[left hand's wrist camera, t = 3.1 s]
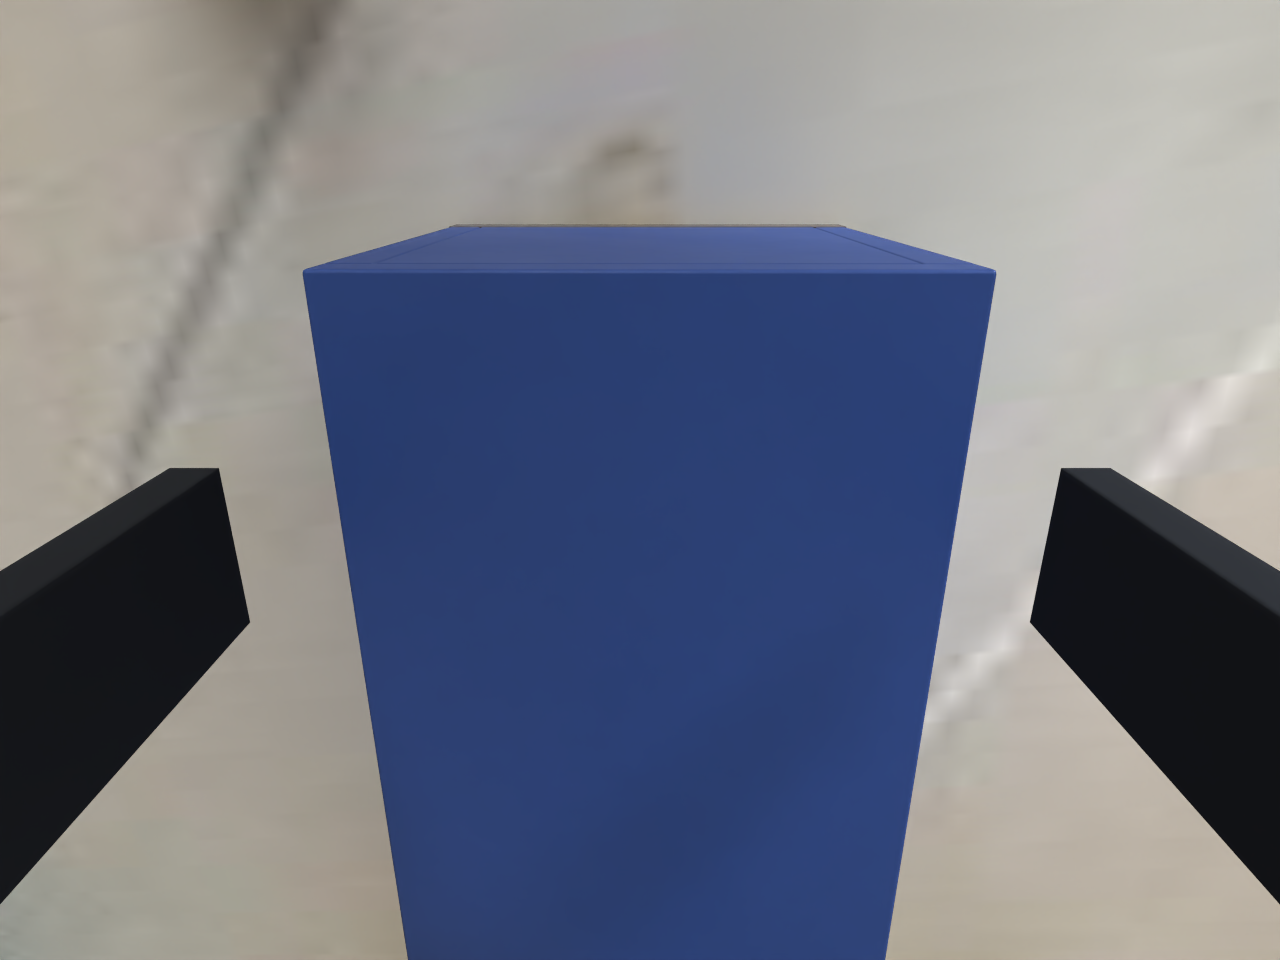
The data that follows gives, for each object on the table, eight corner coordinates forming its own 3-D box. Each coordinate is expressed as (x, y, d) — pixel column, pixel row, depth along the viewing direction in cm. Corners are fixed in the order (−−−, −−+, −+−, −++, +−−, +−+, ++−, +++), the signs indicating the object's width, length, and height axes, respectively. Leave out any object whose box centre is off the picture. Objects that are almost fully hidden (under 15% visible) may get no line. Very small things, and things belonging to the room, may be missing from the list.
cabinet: (786, 814, 30) (857, 1138, 20) (504, 812, 30) (433, 1134, 20) (839, 224, 22) (999, 269, 12) (456, 224, 22) (299, 268, 12)
